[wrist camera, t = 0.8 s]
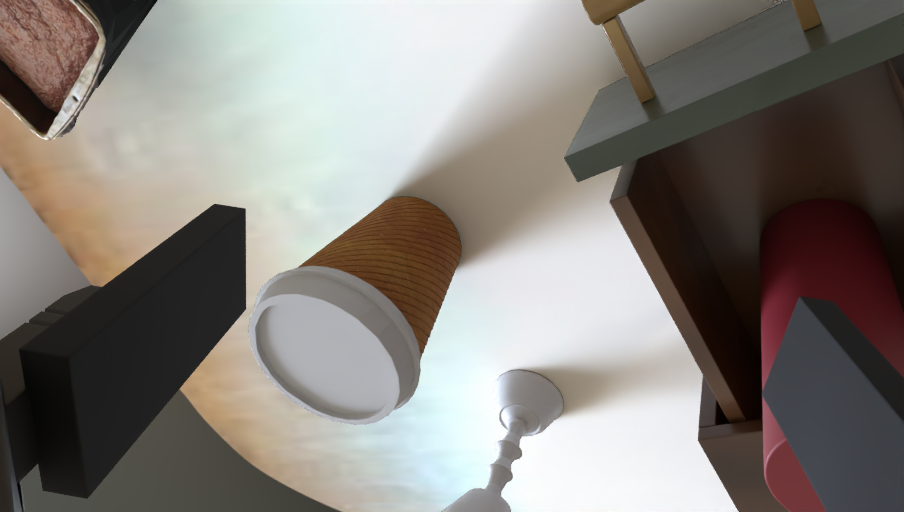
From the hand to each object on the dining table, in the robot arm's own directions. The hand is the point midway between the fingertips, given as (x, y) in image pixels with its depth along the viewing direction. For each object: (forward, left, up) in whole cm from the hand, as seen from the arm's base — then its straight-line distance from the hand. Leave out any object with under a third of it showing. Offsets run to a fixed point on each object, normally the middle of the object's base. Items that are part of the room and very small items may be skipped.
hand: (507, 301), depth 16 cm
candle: (-2, +12, -18) cm, 22 cm away
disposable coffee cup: (+17, +2, -20) cm, 27 cm away
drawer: (-3, +8, -19) cm, 21 cm away
